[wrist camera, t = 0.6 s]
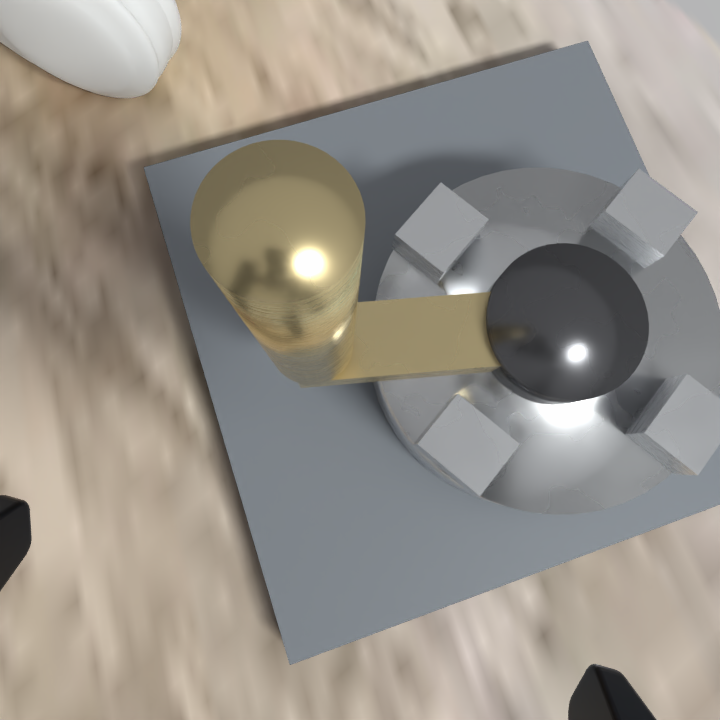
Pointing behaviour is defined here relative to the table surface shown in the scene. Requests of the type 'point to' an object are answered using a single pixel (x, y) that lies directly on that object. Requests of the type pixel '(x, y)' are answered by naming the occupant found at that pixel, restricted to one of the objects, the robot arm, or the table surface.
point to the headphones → (95, 41)
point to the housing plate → (359, 400)
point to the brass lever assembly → (485, 319)
